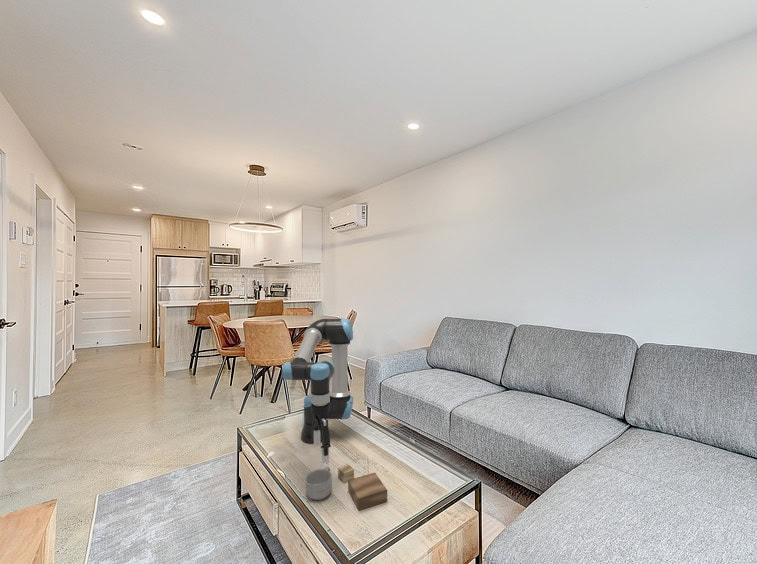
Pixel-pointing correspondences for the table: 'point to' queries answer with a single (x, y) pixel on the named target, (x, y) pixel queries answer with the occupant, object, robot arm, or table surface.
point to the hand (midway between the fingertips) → (321, 453)
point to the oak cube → (345, 473)
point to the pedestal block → (367, 491)
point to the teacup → (319, 483)
